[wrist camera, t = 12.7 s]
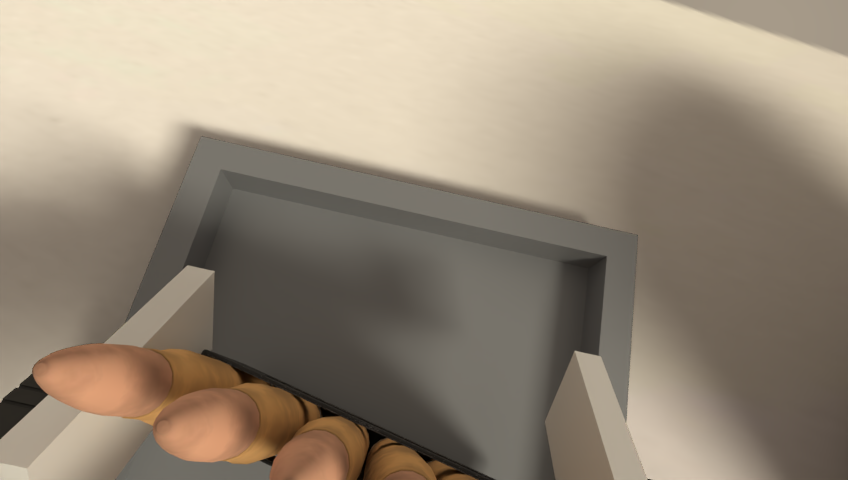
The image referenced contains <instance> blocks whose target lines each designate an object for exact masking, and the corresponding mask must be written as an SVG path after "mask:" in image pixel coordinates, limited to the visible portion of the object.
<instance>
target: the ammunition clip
mask: <svg viewBox="0 0 848 480" xmlns="http://www.w3.org/2000/svg"><path fill="white" fill-rule="evenodd" d="M32 373H33V377H34V379H35V381H36V383H37V384H38V385H39V386H40V387H41V388H42V389H43V390H44V391H45V392H46V393H47V394H48V395H50V396H51V397H53V398H55V399H56V400H58V401H60V402H62V403H64V404H67V405H69V406H71V407H73V408H75V409H78V410H81V411H84V412H88V413H92V414H96V415H101V416H117V417H122V418H126V419H137V420H141V421H143V422H145V423H147V424H150V425H152V426H153V435H154V438H155V440H156V442H157V443H158V444H159V446H160V447H161V448H162V449H164V450H165V451H166V452H168V453H169V454H172V455H174V456H176V457H178V458H180V459H183V460H186V461H194V462H217V461H228V462H230V463H232V464H251V463H254V462H257V461H261V462H263V463H265V464H267V465H269V466H272V468H271V471H270V475H269V478H270V480H496V479H493V478H491V477H489V476H487V475H485V474H483V473H480V472H478V471H476V470H474V469H472V468H470V467H467V466H465V465H463V464H461V463H459V462H457V461H454V460H452V459H450V458H448V457H446V456H444V455H441V454H439V453H437V452H435V451H433V450H430V449H428V448H426V447H424V446H422V445H420V444H417V443H415V442H413V441H411V440H409V439H407V438H404V437H402V436H400V435H398V434H396V433H394V432H391V431H389V430H387V429H385V428H383V427H381V426H378V425H376V424H374V423H372V422H370V421H367V420H365V419H363V418H361V417H359V416H357V415H354V414H352V413H350V412H348V411H346V410H344V409H341V408H339V407H337V406H335V405H333V404H331V403H328V402H326V401H324V400H322V399H320V398H318V397H315V396H313V395H311V394H309V393H307V392H305V391H302V390H300V389H298V388H296V387H294V386H291V385H289V384H287V383H285V382H283V381H281V380H278V379H276V378H274V377H272V376H270V375H268V374H265V373H263V372H261V371H259V370H257V369H255V368H252V367H250V366H248V365H246V364H243V363H241V362H238V361H236V360H233V359H230V358H228V357H225V356H222V355H220V354H217V353H215V352H212V351H209V350H206V349H204V350H203V351H202V353H201V354H198V353H195V352H192V351H189V350H184V349H165V350H157V349H149V348H141V347H137V346H132V345H120V344H102V343H98V344H87V345H80V346H75V347H71V348H66V349H63V350H59V351H56V352H54V353H51V354H49V355H48V356H46V357H44V358H42V359H41V360H39V361H38V362H37V363H36V364H35V365H34V367H33V370H32ZM277 454H278V455H277ZM275 455H277V456H275Z"/></svg>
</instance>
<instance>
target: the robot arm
mask: <svg viewBox="0 0 848 480" xmlns="http://www.w3.org/2000/svg"><path fill="white" fill-rule="evenodd" d="M214 274H215V271H212V270H207V269H203V268H198V267H193V266H189V265H187V266H186V267H185V268H184V269H183V270H182V271H181V272H180V273H179V274H178V275H177V276H175V277H174V278H173V279H172V280H171V281H170V282H169V283H168V284H167V285H166V286H165V287H164V288H163V289H162V290H160V291H159V292H158V293H157V294H156V295H155V296H154V297H153V298H152V299H151V300H150V301H149V302H148V303H146V304H145V305H144V306H143V307H142V308H141V309H140V310H139V311H138V312H137V313H136V314H135V315H134V316H132V317H131V318H130V319H129V320H128V321H127V322H126V323H125V324H124V325H123V326H122V327H121V328H120V329H118V330H117V331H116V332H115V333H114V334H113V335H112V336H111V337H110V338H109V339H108V340H107V341H106V342H104V343H103V344H120V345H132V346H137V347H141V348H149V349H157V350H165V349H184V350H189V351H192V352H195V353H198V354H201V353H202V351H203V350H204V349H206V350H209V351H211V350H212V340H213V307H214ZM545 425H546V431H547V436H548V442H549V447H550V452H551V458H552V463H553V469H554V474H555V480H651V479H647V477H646V475H645V472H644V469H643V467H642V464H641V461H640V459H639V456H638V453H637V451H636V448H635V445H634V443H633V440H632V437H631V435H630V432H629V430H628V427H627V424H626V422H625V419H624V416H623V414H622V411H621V408H620V406H619V403H618V400H617V398H616V395H615V392H614V390H613V387H612V384H611V382H610V379H609V376H608V374H607V371H606V369H605V366H604V363H603V361H602V358H601V356H597V355H592V354H587V353H583V352H578V351H574V353H573V356H572V358H571V361H570V363H569V365H568V368H567V370H566V372H565V375H564V377H563V380H562V382H561V384H560V387H559V389H558V391H557V394H556V396H555V399H554V401H553V403H552V406H551V408H550V410H549V413H548V415H547V417H546V420H545ZM152 429H153V426H152V425H150V424H147V423H145V422H143V421H141V420H137V419H126V418H122V417H117V416H101V415H96V414H92V413H88V412H84V411H81V410H78V409H75V408H73V407H71V406H69V405H67V404H64V403H62V402H60V401H58V400H56V399H55V398H53V397H51V396H50V395H48V394H47V393H46V392H45V391H44V390H43V389H42V388H41V387H40V386H39V385H38V384H37V383H36V381H35V379H34V377H33V374H31V375H30V376H29V377H28V378H27V379H26V380H24V381H23V382H22V383H21V384H20V386H19V388H15V389H14V390H13V391H11V392H10V393H9V394H8V395H7V396H6V397H4V398H3V401H2V402H1V403H0V480H115V479H116V478H117V476H118V475H119V474H120V472H121V471H122V470H123V468H124V467H125V466H126V464H127V463H128V462H129V460H130V459H131V458H132V456H133V455H134V454H135V452H136V451H137V449H138V448H139V447H140V445H141V444H142V443H143V441H144V440H145V439H146V437H147V436H148V435H149V433H150V432H151V431H152Z"/></svg>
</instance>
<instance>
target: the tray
mask: <svg viewBox="0 0 848 480" xmlns="http://www.w3.org/2000/svg"><path fill="white" fill-rule="evenodd" d="M637 242H638V235H636V234H631V233H627V232H622V231H618V230H613V229H609V228H605V227H600V226H596V225H591V224H587V223H583V222H578V221H574V220H569V219H565V218H560V217H556V216H552V215H547V214H543V213H538V212H534V211H530V210H525V209H521V208H516V207H512V206H507V205H503V204H499V203H494V202H490V201H485V200H481V199H477V198H472V197H468V196H463V195H459V194H454V193H450V192H446V191H441V190H437V189H432V188H428V187H423V186H419V185H415V184H410V183H406V182H401V181H397V180H393V179H388V178H384V177H379V176H375V175H370V174H366V173H362V172H357V171H353V170H348V169H344V168H340V167H335V166H331V165H326V164H322V163H317V162H313V161H309V160H304V159H300V158H295V157H291V156H287V155H282V154H278V153H273V152H269V151H264V150H260V149H256V148H251V147H247V146H242V145H238V144H233V143H229V142H225V141H220V140H216V139H211V138H207V137H203V136H201V138H200V140H199V143H198V145H197V148H196V150H195V153H194V155H193V157H192V160H191V162H190V165H189V167H188V170H187V172H186V175H185V177H184V179H183V182H182V184H181V187H180V189H179V192H178V194H177V197H176V199H175V202H174V204H173V206H172V209H171V211H170V214H169V216H168V219H167V221H166V224H165V226H164V228H163V231H162V233H161V236H160V238H159V241H158V243H157V246H156V248H155V251H154V253H153V255H152V258H151V260H150V263H149V265H148V268H147V270H146V273H145V275H144V277H143V280H142V282H141V285H140V287H139V290H138V292H137V295H136V297H135V299H134V302H133V304H132V307H131V309H130V312H129V314H128V317H127V319H126V322H127V321H128V320H129V319H130V318H131V317H132V316H134V315H135V314H136V313H137V312H138V311H139V310H140V309H141V308H142V307H143V306H144V305H145V304H146V303H148V302H149V301H150V300H151V299H152V298H153V297H154V296H155V295H156V294H157V293H158V292H159V291H160V290H162V289H163V288H164V287H165V286H166V285H167V284H168V283H169V282H170V281H171V280H172V279H173V278H174V277H175V276H177V275H178V274H179V273H180V272H181V271H182V270H183V269H184V268H185V267H186V266H187V265H189V266H193V267H198V268H203V269H207V270H212V271H215V274H214V307H213V340H212V350H211V351H212V352H215V353H217V354H220V355H222V356H225V357H228V358H230V359H233V360H236V361H238V362H241V363H243V364H246V365H248V366H250V367H252V368H255V369H257V370H259V371H261V372H263V373H265V374H268V375H270V376H272V377H274V378H276V379H278V380H281V381H283V382H285V383H287V384H289V385H291V386H294V387H296V388H298V389H300V390H302V391H305V392H307V393H309V394H311V395H313V396H315V397H318V398H320V399H322V400H324V401H326V402H328V403H331V404H333V405H335V406H337V407H339V408H341V409H344V410H346V411H348V412H350V413H352V414H354V415H357V416H359V417H361V418H363V419H365V420H367V421H370V422H372V423H374V424H376V425H378V426H381V427H383V428H385V429H387V430H389V431H391V432H394V433H396V434H398V435H400V436H402V437H404V438H407V439H409V440H411V441H413V442H415V443H417V444H420V445H422V446H424V447H426V448H428V449H430V450H433V451H435V452H437V453H439V454H441V455H444V456H446V457H448V458H450V459H452V460H454V461H457V462H459V463H461V464H463V465H465V466H467V467H470V468H472V469H474V470H476V471H478V472H480V473H483V474H485V475H487V476H489V477H491V478H493V479H496V480H555V474H554V469H553V463H552V458H551V452H550V447H549V442H548V436H547V431H546V425H545V420H546V417H547V415H548V413H549V410H550V408H551V406H552V403H553V401H554V399H555V396H556V394H557V391H558V389H559V387H560V384H561V382H562V380H563V377H564V375H565V372H566V370H567V368H568V365H569V363H570V361H571V358H572V356H573V353H574V351H578V352H583V353H587V354H592V355H597V356H601V358H602V361H603V363H604V366H605V369H606V371H607V374H608V376H609V379H610V382H611V384H612V387H613V390H614V392H615V395H616V398H617V400H618V403H619V406H620V408H621V411H622V414H623V416H624V419H625V422H626V418H627V402H628V386H629V370H630V354H631V338H632V322H633V306H634V290H635V274H636V258H637ZM126 322H125V323H126ZM277 455H278V454H277ZM277 455H275V456H277ZM271 468H272V466H269V465H267V464H265V463H263V462H261V461H257V462H254V463H251V464H232V463H230V462H228V461H217V462H194V461H186V460H183V459H180V458H178V457H176V456H174V455H172V454H169V453H168V452H166V451H165V450H164V449H162V448H161V447H160V446H159V444H158V443H157V442H156V440H155V438H154V435H153V429H152V431H151V432H150V433H149V435H148V436H147V437H146V439H145V440H144V441H143V443H142V444H141V445H140V447H139V448H138V449H137V451H136V452H135V454H134V455H133V456H132V458H131V459H130V460H129V462H128V463H127V464H126V466H125V467H124V468H123V470H122V471H121V472H120V474H119V475H118V476H117V478H116V479H115V480H270V478H269V475H270V471H271Z"/></svg>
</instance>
